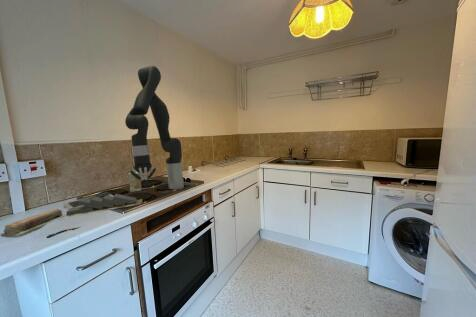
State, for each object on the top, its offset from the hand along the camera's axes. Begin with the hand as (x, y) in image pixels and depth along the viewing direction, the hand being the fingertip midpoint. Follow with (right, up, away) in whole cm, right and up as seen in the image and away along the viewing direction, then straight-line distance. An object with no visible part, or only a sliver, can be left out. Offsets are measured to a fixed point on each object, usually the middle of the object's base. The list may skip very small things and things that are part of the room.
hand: (145, 186), depth 102 cm
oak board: (-16, -11, -5) cm, 20 cm away
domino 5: (-5, -8, -1) cm, 9 cm away
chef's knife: (-16, -14, -23) cm, 32 cm away
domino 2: (-18, -9, -6) cm, 21 cm away
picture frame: (-34, -11, +6) cm, 36 cm away
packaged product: (-36, -14, -20) cm, 44 cm away
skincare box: (-19, -7, +25) cm, 32 cm away
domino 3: (-13, -9, -5) cm, 17 cm away
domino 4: (-9, -8, -3) cm, 12 cm away
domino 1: (-21, -9, -8) cm, 25 cm away
